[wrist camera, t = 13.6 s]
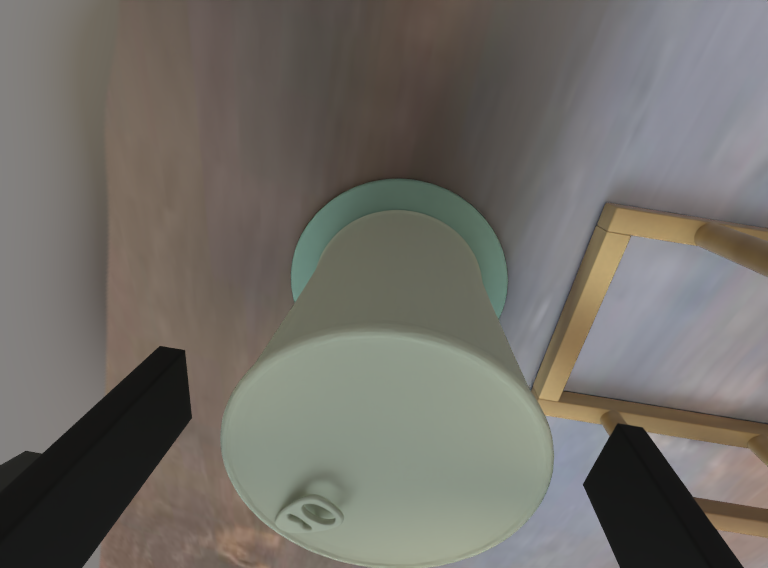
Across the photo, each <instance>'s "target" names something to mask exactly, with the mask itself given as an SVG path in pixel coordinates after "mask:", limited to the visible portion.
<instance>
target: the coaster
mask: <svg viewBox="0 0 768 568" xmlns="http://www.w3.org/2000/svg"><path fill="white" fill-rule="evenodd" d="M388 210H406V211H414V212H418V213H422V214H426V215H428V216H431V217H433V218H436V219H438V220H440V221H442V222H443V223H445V224H447V225H448V226H449V227H451V228H452V229H453V230H455V231H456V232H457V233H458V234H459V235H460V236H461V237H462V238H463V239H464V240H465V241H466V243H467V244H468V245H469V247H470V248H471V250H472V252H473V253H474V255H475V257H476V259H477V262H478V264H479V268H480V271H481V276H482V282H483V285H484V287H485V290H486V292H487V295H488V297H489V299H490V302H491V304H492V306H493V309H494V311H495V313H496V316H497V318H498V320H499V318H500V315H501V313H502V310H503V308H504V304H505V299H506V295H507V285H508V276H507V266H506V261H505V256H504V253H503V250H502V247H501V245H500V242H499V240H498V238H497V236H496V235H495V233H494V231H493V229H492V228H491V226H490V225H489V224H488V222H487V221H486V220H485V218H484V217H483V216H482V215H481V214H480V213H479V212H478V211H477V210H476V209H475V208H474V207H473V206H472V205H471V204H469V203H468V202H467V201H465V200H464V199H463V198H461V197H460V196H458V195H456V194H455V193H453V192H451V191H449V190H447V189H445V188H442V187H440V186H437V185H434V184H432V183H427V182H423V181H419V180H411V179H384V180H378V181H372V182H368V183H365V184H362V185H359V186H356V187H354V188H352V189H350V190H348V191H345V192H343V193H342V194H340V195H339V196H337V197H336V198H334V199H333V200H331V201H330V202H328V203H327V204H326V205H325V206H324V207H323V208H322V209H321V210H320V211H319V212H318V213H317V214H316V215H315V216H314V217H313V219H312V220H311V221H310V222H309V223H308V225H307V227H306V228H305V230H304V231H303V233H302V235H301V237H300V239H299V241H298V244H297V246H296V249H295V253H294V256H293V260H292V268H291V287H292V293H293V299H294V302H296V300H297V299H298V297H299V296H300V294H301V292H302V291H303V289H304V288H305V286H306V284H307V283H308V281H309V280H310V278H311V276H312V275H313V273H314V271H315V270H316V268H317V264H318V261H319V259H320V256H321V254H322V252H323V251H324V249H325V247H326V246H327V244H328V243H329V242H330V241H331V239H332V238H333V237H334V236H335V235H336V234H337V233H338V232H339V231H340V230H342V229H343V228H344V227H345V226H347V225H348V224H350V223H351V222H353V221H355V220H357V219H359V218H361V217H363V216H366V215H369V214H372V213H376V212H381V211H388Z"/></svg>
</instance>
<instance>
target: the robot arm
mask: <svg viewBox="0 0 768 568" xmlns="http://www.w3.org/2000/svg"><path fill="white" fill-rule="evenodd" d="M191 418H192V414H191V404H190V395H189V385H188V375H187V366H186V356H185V350H181V349H175V348H169V347H163V346H159V347H158V348H157V349H156V350H155V351H154V352H153V353H152V354H151V355H150V356H149V357H147V358H146V359H145V360H144V361H143V362H142V363H141V364H140V365H139V366H138V367H137V368H135V369H134V370H133V371H132V372H131V373H130V374H129V375H128V376H127V377H126V378H124V379H123V380H122V381H121V382H120V383H119V384H118V385H117V386H116V387H115V388H114V389H112V390H111V391H110V392H109V393H108V394H107V395H106V396H105V397H104V398H103V399H102V400H100V401H99V402H98V403H97V404H96V405H95V406H94V407H93V408H92V409H91V410H90V411H88V412H87V413H86V414H85V415H84V416H83V417H82V418H81V419H80V420H79V421H78V422H76V423H75V425H73V426H72V427H71V428H70V429H69V430H68V431H67V432H66V433H64V434H63V435H62V436H61V437H60V438H59V439H58V440H57V441H56V442H55V443H54V444H52V445H51V446H50V447H49V448H48V449H47V450H46V451H45V452H44V453H43V454H41V453H35V452H29V451H25V452H23V453H21V454H19V455H18V456H16V457H14V458H12V459H11V460H9V461H7V462H5V463H4V464H2V465H0V568H82V567H83V566H84V565H85V563H86V562H87V561H88V559H89V558H90V556H91V555H92V554H93V552H94V551H95V550H96V548H97V547H98V546H99V544H100V543H101V541H102V540H103V539H104V537H105V536H106V535H107V533H108V532H109V530H110V529H111V528H112V526H113V525H114V524H115V522H116V521H117V520H118V518H119V517H120V515H121V514H122V513H123V511H124V510H125V509H126V507H127V506H128V505H129V503H130V502H131V500H132V499H133V498H134V496H135V495H136V494H137V492H138V491H139V490H140V488H141V487H142V485H143V484H144V483H145V481H146V480H147V479H148V477H149V476H150V474H151V473H152V472H153V470H154V469H155V468H156V466H157V465H158V464H159V462H160V461H161V459H162V458H163V457H164V455H165V454H166V453H167V451H168V450H169V449H170V447H171V446H172V444H173V443H174V442H175V440H176V439H177V438H178V436H179V435H180V433H181V432H182V431H183V429H184V428H185V427H186V425H187V424H188V423H189V421H190V420H191ZM583 486H584V488H585V490H586V492H587V495H588V497H589V499H590V501H591V504H592V506H593V508H594V510H595V513H596V515H597V517H598V519H599V521H600V524H601V526H602V528H603V530H604V533H605V535H606V537H607V539H608V542H609V544H610V546H611V548H612V551H613V553H614V555H615V557H616V560H617V562H618V564H619V566H620V568H744V567H743V566H742V565H741V563H740V562H739V561H738V559H737V558H736V556H735V555H734V554H733V552H732V551H731V549H730V548H729V547H728V545H727V544H726V542H725V541H724V540H723V538H722V537H721V535H720V534H719V533H718V531H717V530H716V528H715V527H714V526H713V524H712V523H711V522H710V520H709V519H708V517H707V516H706V515H705V513H704V512H703V510H702V509H701V508H700V506H699V505H698V503H697V502H696V501H695V499H694V498H693V496H692V495H691V494H690V492H689V491H688V489H687V488H686V487H685V485H684V484H683V482H682V481H681V480H680V478H679V477H678V476H677V474H676V473H675V471H674V470H673V469H672V467H671V466H670V464H669V463H668V462H667V460H666V459H665V457H664V456H663V455H662V453H661V452H660V450H659V449H658V448H657V446H656V445H655V443H654V442H653V441H652V439H651V438H650V437H649V435H648V434H647V432H646V431H645V430H644V428H643V427H638V426H632V425H626V424H620V423H617V425H616V426H615V428H614V430H613V432H612V434H611V435H610V437H609V439H608V441H607V442H606V444H605V446H604V448H603V450H602V451H601V453H600V455H599V457H598V458H597V460H596V462H595V464H594V466H593V467H592V469H591V471H590V473H589V474H588V476H587V478H586V480H585V482H584V483H583Z"/></svg>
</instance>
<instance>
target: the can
mask: <svg viewBox="0 0 768 568" xmlns="http://www.w3.org/2000/svg"><path fill="white" fill-rule="evenodd" d="M221 452H222V457H223V461H224V465H225V468H226V471H227V473H228V476H229V478H230V480H231V482H232V484H233V486H234V488H235V489H236V491H237V493H238V494H239V496H240V497H241V499H242V500H243V501H244V503H245V504H246V505H247V506H248V507H249V508H250V509H251V510H252V512H253V513H254V514H255V515H256V516H257V517H258V518H259V519H260V520H262V521H263V522H264V523H265V524H267V525H268V526H269V527H270V528H272V529H273V530H274V531H276V532H277V533H279V534H280V535H282V536H283V537H285V538H286V539H288V540H290V541H291V542H293V543H295V544H297V545H299V546H301V547H303V548H305V549H307V550H309V551H312V552H314V553H317V554H319V555H322V556H325V557H328V558H331V559H334V560H337V561H341V562H345V563H350V564H355V565H359V566H366V567H373V568H426V567H434V566H440V565H444V564H449V563H454V562H457V561H460V560H463V559H467V558H470V557H472V556H475V555H478V554H480V553H482V552H484V551H486V550H488V549H490V548H492V547H494V546H496V545H498V544H499V543H501V542H503V541H504V540H506V539H507V538H508V537H510V536H511V535H512V534H514V533H515V532H516V531H517V530H519V529H520V528H521V527H522V526H523V525H524V524H525V523H526V522H527V521H528V520H529V518H530V517H531V516H532V515H533V514H534V512H535V511H536V510H537V508H538V507H539V505H540V504H541V502H542V500H543V498H544V496H545V494H546V492H547V489H548V487H549V484H550V480H551V477H552V473H553V463H554V450H553V440H552V435H551V431H550V427H549V425H548V422H547V419H546V417H545V414H544V412H543V410H542V408H541V406H540V404H539V403H538V401H537V400H536V398H535V397H534V395H533V394H532V392H531V391H530V389H529V387H528V385H527V383H526V381H525V378H524V376H523V374H522V372H521V370H520V367H519V365H518V363H517V361H516V359H515V356H514V354H513V352H512V350H511V348H510V345H509V343H508V341H507V339H506V336H505V334H504V332H503V329H502V327H501V325H500V323H499V320H498V318H497V316H496V313H495V311H494V309H493V306H492V304H491V302H490V299H489V297H488V295H487V292H486V290H485V287H484V285H483V282H482V276H481V271H480V268H479V264H478V262H477V259H476V257H475V255H474V253H473V252H472V250H471V248H470V247H469V245H468V244H467V243H466V241H465V240H464V239H463V238H462V237H461V236H460V235H459V234H458V233H457V232H456V231H455V230H453V229H452V228H451V227H449V226H448V225H447V224H445V223H443V222H442V221H440V220H438V219H436V218H433V217H431V216H428V215H426V214H422V213H418V212H414V211H406V210H388V211H381V212H376V213H372V214H369V215H366V216H363V217H361V218H359V219H357V220H355V221H353V222H351V223H350V224H348V225H347V226H345V227H344V228H343V229H342V230H340V231H339V232H338V233H337V234H336V235H335V236H334V237H333V238H332V239H331V241H330V242H329V243H328V244H327V246H326V247H325V249H324V251H323V252H322V254H321V256H320V259H319V261H318V264H317V268H316V270H315V271H314V273H313V275H312V276H311V278H310V280H309V281H308V283H307V284H306V286H305V288H304V289H303V291H302V292H301V294H300V296H299V297H298V299H297V300H296V302H295V303H294V305H293V307H292V308H291V310H290V311H289V313H288V314H287V316H286V317H285V319H284V320H283V322H282V323H281V325H280V326H279V328H278V330H277V331H276V333H275V334H274V336H273V337H272V339H271V340H270V342H269V343H268V345H267V346H266V348H265V349H264V351H263V352H262V354H261V355H260V357H259V358H258V360H257V361H256V363H255V364H254V365H253V366H252V367H251V368H250V369H249V370H248V372H247V373H246V374H245V375H244V376H243V378H242V379H241V380H240V382H239V383H238V384H237V386H236V387H235V389H234V391H233V393H232V394H231V396H230V399H229V401H228V403H227V406H226V409H225V412H224V415H223V420H222V425H221Z"/></svg>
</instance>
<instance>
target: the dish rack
mask: <svg viewBox="0 0 768 568" xmlns="http://www.w3.org/2000/svg"><path fill="white" fill-rule="evenodd" d="M597 225H598V226H596V227H595V230H594V232H593V235H592V238H591V240H590V243H589V245H588V248H587V250H586V253H585V255H584V258H583V260H582V263H581V265H580V268H579V270H578V273H577V275H576V278H575V280H574V283H573V286H572V288H571V291H570V293H569V296H568V298H567V301H566V303H565V306H564V308H563V311H562V313H561V316H560V318H559V321H558V323H557V326H556V328H555V331H554V334H553V336H552V339H551V341H550V344H549V346H548V349H547V351H546V354H545V356H544V359H543V361H542V364H541V366H540V369H539V371H538V374H537V377H536V379H535V382H534V384H533V387H532V390H531V392H532V394H533V395H534V397H535V398H536V400H537V401H538V403H539V404H540V406H541V408H542V410H543V412H544V414H545V415H546V416H552V417H558V418H565V419H571V420H577V421H583V422H589V423H595V424H601V425H603V427H604V428H605V430H606V432H607V433H608V435H609V436H610V435H611V434H612V432H613V430H614V428H615V426H616V425H617V423H620V424H626V425H632V426H638V427H643V428H644V430H645V431H646V432H651V433H657V434H663V435H669V436H675V437H681V438H688V439H694V440H700V441H706V442H712V443H718V444H725V445H731V446H737V447H743V448H749V449H750V450H751V451H752V452H753V453H754V454H755V455H756V456H757V457H758V458H759V459H760V460H761V461H762V462H763V463H765V464H766V465H767V466H768V424H763V423H757V422H751V421H744V420H738V419H732V418H726V417H720V416H714V415H707V414H701V413H695V412H689V411H683V410H677V409H671V408H664V407H658V406H652V405H646V404H640V403H634V402H627V401H621V400H615V399H609V398H603V397H597V396H590V395H584V394H578V393H572V392H566V391H563V389H564V387H565V385H566V382H567V380H568V378H569V376H570V373H571V371H572V369H573V367H574V364H575V362H576V360H577V358H578V355H579V353H580V351H581V348H582V346H583V344H584V342H585V339H586V337H587V335H588V333H589V330H590V328H591V326H592V324H593V321H594V319H595V317H596V314H597V312H598V310H599V308H600V305H601V303H602V301H603V299H604V296H605V294H606V292H607V290H608V287H609V285H610V283H611V281H612V278H613V276H614V274H615V271H616V269H617V267H618V265H619V262H620V260H621V258H622V256H623V253H624V251H625V249H626V247H627V244H628V242H629V240H630V237H631V236H630V235H633V236H639V237H645V238H651V239H657V240H664V241H670V242H676V243H682V244H688V245H694V246H700V247H702V248H704V249H706V250H708V251H711V252H713V253H715V254H717V255H720V256H722V257H724V258H726V259H729V260H731V261H733V262H735V263H737V264H740V265H742V266H744V267H746V268H749V269H751V270H753V271H755V272H757V273H760V274H762V275H764V276H766V277H768V228H762V227H756V226H750V225H744V224H738V223H731V222H725V221H719V220H713V219H707V218H700V217H694V216H688V215H682V214H676V213H669V212H663V211H657V210H651V209H645V208H639V207H632V206H626V205H620V204H614V203H605V206H604V208H603V211H602V213H601V216H600V218H599V221H598V223H597ZM693 498H694V499H695V501H696V502H697V503H698V505H699V506H700V508H701V509H702V510H703V512H704V513H705V515H706V516H707V517H708V519H709V520H710V522H711V523H712V524H713V526H714V527H715V528H716V530H722V531H728V532H734V533H740V534H746V535H753V536H759V537H765V538H768V509H763V508H757V507H751V506H745V505H739V504H733V503H727V502H720V501H714V500H708V499H702V498H696V497H693Z"/></svg>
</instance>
